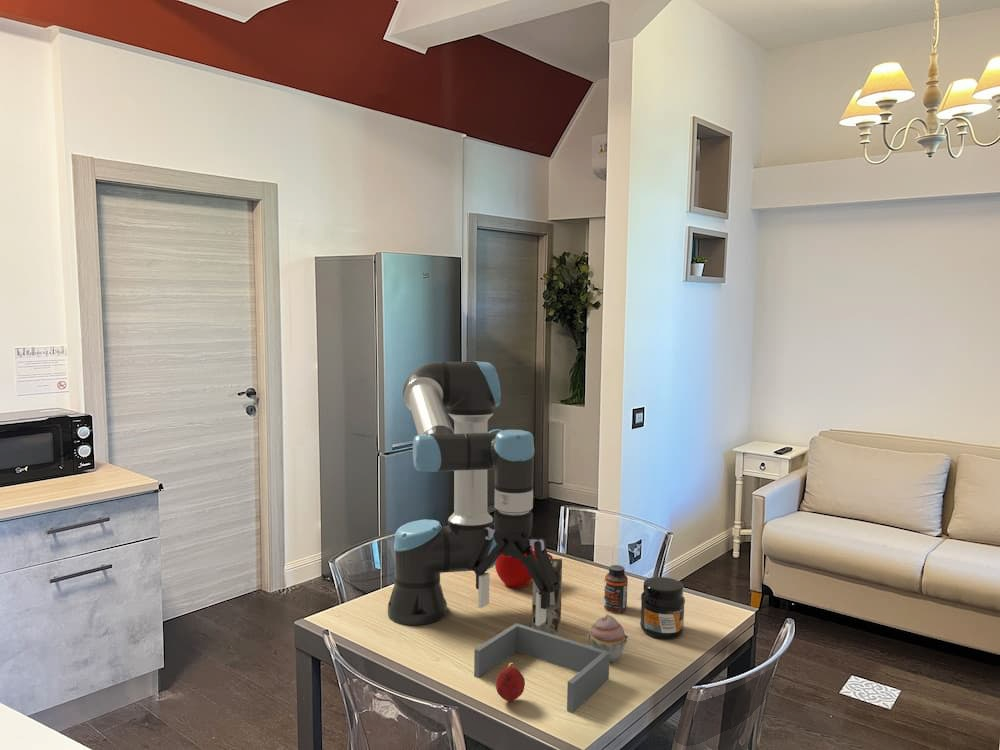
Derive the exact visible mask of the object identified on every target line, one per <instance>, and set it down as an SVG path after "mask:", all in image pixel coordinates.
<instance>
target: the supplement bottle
mask: <svg viewBox="0 0 1000 750" xmlns="http://www.w3.org/2000/svg"><path fill="white" fill-rule="evenodd" d="M608 568H609V569H608V573H606V574H605V577H604V593H603V594H604V595H603V596H604V597H603V607H604V609H605V610H606V611H608V612H610V613H617V614H618V613H619V614H620V613H622V612H625V611H626V610H627V607H628V606H627V605H628V604H627V603H628V583H629V579H628V576H627V575H626V574H625V568H626V567H624V566H623V565H620V564H612V565H610V566H609V567H608Z"/></svg>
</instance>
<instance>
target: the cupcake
mask: <svg viewBox="0 0 1000 750" xmlns="http://www.w3.org/2000/svg"><path fill="white" fill-rule="evenodd" d="M589 629H590V630H588V634H586V637H587V639H588V641H589V643H590V646H591V647H594V648H598V649H601V650H604V651H607V652H610V660H609V663H615V662H618V661H620V660H621V658H622V655H623V654H624V653H623V652H624V649H625V648H624V647H625V646H626V644H627V642H628V638H629V636H628V635H626V634H625V629H624V627H623V625H622V624H621V623H619V622H618V620H617V619H616V617H614V616H613V615H610V614H608V613H607V614H606V615H605V616H604V617H599V618H598V619H596V621H595V622H594V623H593V624H592V625H591V626H590V628H589Z"/></svg>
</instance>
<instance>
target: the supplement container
mask: <svg viewBox="0 0 1000 750" xmlns="http://www.w3.org/2000/svg"><path fill="white" fill-rule="evenodd" d="M640 600H641V602H640V603H641V604H640V605H641V606H640V608H641V609H640V623H639V624H640V629H641V631H643V632H644V633H645V634H646V635H648V636H651V637H653V638H657V639H664V640H668V639H669V640H670V639H671V640H672V639H676V638H678V637H680V636H681V635H682V634H683V632H684V629H685V625H684V623H685V622H684V621H685V604H686V599H685V597H684V585H683V583H682V582H681V581H679V580H677V579H674V578H670V577H666V576H654V577H653V576H652V577H649V578H647V579H645V580H644V581H643V591H642V593H641V595H640Z"/></svg>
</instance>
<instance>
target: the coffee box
mask: <svg viewBox="0 0 1000 750" xmlns="http://www.w3.org/2000/svg"><path fill="white" fill-rule="evenodd" d="M549 558H550V557H549ZM550 561H551V563H552V566H553V569H554V571H555V574H556V577H557V579H558V582H559V585H560V587H559V588H558V589H557V590H555V591H554V592H552V593H551V592H550V606H549V607H548V608H546V622H544V623H543V624H541V625H540V626H536V625H535V618H536V592H538V591H539V589H538V587H537V586H536V584H535V582H534V581H533V580H532V602H531V603H532V604H531V605H532V606H531V628H533V629H537V630H540V631H543V632H546V633H549V634H553V635H556V636H558V635H557V634H558V631H559V627H560V624H561V620H562V619H561V618H562V588H563V587H562V585H563V583H562V581H563V580H562V578H563V559H562V558H554V557H553V558H550ZM537 563H538V562H537ZM538 565H539V564H538Z"/></svg>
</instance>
